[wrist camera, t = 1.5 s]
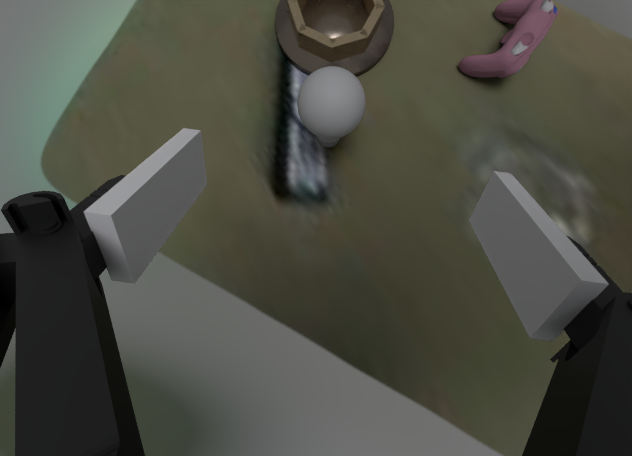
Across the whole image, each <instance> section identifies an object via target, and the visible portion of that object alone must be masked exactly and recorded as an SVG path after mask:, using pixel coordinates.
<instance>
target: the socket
mask: <svg viewBox="0 0 632 456" xmlns="http://www.w3.org/2000/svg"><path fill="white" fill-rule="evenodd" d="M275 24H276V32H277V37H278V42H279V45H280V47H281V49H282V51H283V53H284V55H285V56H286V57H287V59H288V60H289V61H290V62H291V63H292V64H293V65H294V66H295V67H296V68H298V69H299V70H300V71H302V72H304V73H305V74H307V75H310V74H311V73H313V72H314V71H316V70H318V69H320V68H324V67H328V66H336V67H341V68H344V69H346V70H348V71H350V72H351V73H352V74H354V75H355V76H356V77H357V76H359V75H361V74H363V73H365V72H367V71H368V70H370V69H371V68H373V67H374V66H375V65H376V64H377V63H378V62H379V61H380V60H381V58H382V57H383V56H384V54H385V52H386V51H387V48H388V46H389V44H390V40H391V37H392V34H393V28H394V15H393V10H392V7H391V4H390V1H389V0H280V2H279V5H278V7H277V12H276V20H275Z"/></svg>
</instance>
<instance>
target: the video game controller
mask: <svg viewBox="0 0 632 456" xmlns="http://www.w3.org/2000/svg"><path fill="white" fill-rule="evenodd" d="M494 14H495V17H496V18H497V19H498V20H499V21H502V22H504V23H508V24H516V25H515V27H514V28H513V29H512V30H510V31H509V32H508V33H507V34H505V36H504V37H503V38H502V40H501V43H502V44H503V46H502V48H501V49H499V50H497V51H496V52H495V53H493V54H486V55H473V56H468V57H465V58H463V59H462V60H461V61H460V63H459V69H460V70H461V71H462V72H463V73H465V74H467V75H470V76H473V77H481V78H487V77H499V78H504V77H507V76H510V75H512V74H514V73H517V72H518V71H519V70H520V69H521V68H522V66H524V65H525V64H526V62H527V61H528V60H529V58H530V54H531V53H532V51H533V50H534V49H535V48H536V47H537V46H538V45H539V43H540V42H541V41H542V39H543V38H544V37H545V35H546V34H547V32H548V31H549V29H550V27H551V25H552V23H553V21H554V20H555V19H556V17H557V15H558V10H557V8H556V7H555V6H554V4H553V2H552V1H550V0H508V1H505V2H502V3H501V4H499V5H498V6H497V7H496V9H495V11H494Z"/></svg>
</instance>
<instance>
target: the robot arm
mask: <svg viewBox="0 0 632 456" xmlns="http://www.w3.org/2000/svg"><path fill="white" fill-rule="evenodd" d="M206 185H207V181H206V172H205V163H204V155H203V146H202V137H201V131H200V130H193V129H186V128H183V129H182V130H181V131H180V132H178V133H177V134H176V135H175V136H174V137H172V138H171V139H170V140H169V141H168V142H166V143H165V144H164V145H163V146H162V147H160V148H159V149H158V150H157V151H156V152H154V153H153V154H152V155H151V156H150V157H148V158H147V159H146V160H145V161H144V162H142V163H141V164H140V165H139V166H138V167H136V168H135V169H134V170H133V171H132V172H130V173H129V174H128V175H127V176H124V175H120V176H118V177H116V178H113V179H111V180H109V181H107V182H106V183H104V184H103V185H102V186H100V187H99V188H98V190H95V191H94V192H93V193H92V194H90V197H89V196H88V197H86V198H85V199H84V200H83V201H81V202H80V203H79V204H78V205H76V206H75V207H74V208H73V209H72V210H70V211H69V209H68V206H67V204H66V202H65V200H64V198H63V196H62V195H61V194H59V193H56V192H51V191H39V192H31V193H28V194H24V195H20V196H18V197H16V198H13V199H11V200H10V201H8V202H7V203H6V204H4V205H3V207H2V209H1V211H2V213H3V215H4V216H5V218H6V219H7V221H8V223H9V224H10V226H11V228H12V229H13V231H14V233H5V234H0V367H1V365H2V362H3V359H4V357H5V354H6V351H7V349H8V346H9V343H10V340H11V338H12V335H13V333H14V330H15V328H16V395H15V396H16V403H15V404H16V406H15V408H16V409H15V411H16V414H15V416H16V417H15V425H16V426H15V428H16V429H15V456H145V454H144V450H143V446H142V442H141V438H140V434H139V430H138V426H137V422H136V418H135V414H134V410H133V406H132V402H131V398H130V394H129V390H128V386H127V382H126V378H125V374H124V370H123V366H122V362H121V358H120V354H119V350H118V346H117V342H116V338H115V334H114V331H113V327H112V322H111V318H110V314H109V310H108V307H107V302H106V298H105V294H104V291H103V287H102V283H101V281H100V278H99V275H100V274H101V273H102V272H103V271H104V270H105V269H106V268H107V270H108V273H109V275H110V277H111V280H114V281H121V282H127V283H135V282H136V281H137V280H138V278H139V277H140V276H141V274H142V273H143V271H144V270H145V269H146V267H147V266H148V265H149V263H150V262H151V260H152V259H153V258H154V256H155V255H156V254H157V252H158V251H159V250H160V248H161V247H162V246H163V244H164V243H165V241H166V240H167V239H168V237H169V236H170V235H171V233H172V232H173V230H174V229H175V228H176V226H177V225H178V224H179V222H180V221H181V220H182V218H183V217H184V215H185V214H186V213H187V211H188V210H189V209H190V207H191V206H192V205H193V203H194V202H195V200H196V199H197V198H198V196H199V195H200V194H201V192H202V191H203V189H204V188H205V187H206ZM469 222H470V224H471V226H472V228H473V230H474V232H475V234H476V236H477V238H478V240H479V241H480V243H481V245H482V247H483V249H484V251H485V253H486V255H487V257H488V259H489V261H490V263H491V265H492V266H493V268H494V270H495V272H496V274H497V276H498V278H499V280H500V282H501V284H502V286H503V288H504V290H505V291H506V293H507V295H508V297H509V299H510V301H511V303H512V305H513V307H514V309H515V311H516V313H517V315H518V316H519V318H520V320H521V322H522V324H523V326H524V328H525V330H526V332H527V334H528V336H529V338H533V339H540V340H548V341H554V340H555V338H556V337H557V336H558V335H559V334H560V333H561V332H562V331H563V330H565V332H566V333H567V335H568V336H569V338H570V341H569V342H568V343H567V344H566V345H565V346H564V347H563V348H562V349H561V350H560V351H559V352H557V353H556V354H555V355H554V356H553V357H552V358H551V359H550V360H551V361H553V362H555V361H556V360H557V359H559V360H558V363H557V365H556V368H555V371H554V373H553V376H552V378H551V381H550V384H549V386H548V389H547V392H546V394H545V397H544V399H543V402H542V405H541V407H540V410H539V413H538V415H537V418H536V420H535V423H534V426H533V428H532V431H531V434H530V436H529V439H528V441H527V444H526V447H525V449H524V452H523V455H522V456H632V294H631V293H626V292H625V293H623V292H622V290H621V289H620V288H619V287H618V286H617V285H616V284H615V283H614V282H613V281H612V279H611V278H610V277H609V276H608V275H607V274H606V273H605V272H604V271H603V270H602V268H601V267H600V266H597V263H596V262H595V261H594V260H593V259H592V257H589V256H590V255H589V254H588V253H587V252H586V251H585V250H584V249H583V248H582V246H581V245H579V244H578V243H577V242H575V241H574V240H572V239H571V238H570V237H568V236H567V235H565V234H564V233H563V232H562V231H561V229H560V228H559V227H558V226H557V225H556V224H555V223H554V221H553V220H552V219H551V218H550V217H549V216H548V215H547V214H546V212H545V211H544V210H543V209H542V208H541V207H540V206H539V205H538V203H537V202H536V201H535V200H534V199H533V198H532V197H531V196H530V194H529V193H528V192H527V191H526V190H525V189H524V188H523V186H522V185H521V184H520V183H519V182H518V181H517V180H516V179H515V177H514V176H513V175H512V174H511V173H505V172H498V171H493V173H492V175H491V177H490V179H489V181H488V183H487V185H486V187H485V189H484V191H483V193H482V195H481V197H480V199H479V201H478V203H477V205H476V207H475V209H474V211H473V213H472V215H471V217H470V219H469Z"/></svg>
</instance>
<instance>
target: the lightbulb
mask: <svg viewBox="0 0 632 456" xmlns="http://www.w3.org/2000/svg"><path fill="white" fill-rule="evenodd" d="M297 105H298V113H299V116H300V118H301V120H302V122H303V124H304V125H305V127H306V128H307V129H308V130H309V131H310V132H312V133H313V134H314V135H316V136H317V138H318V141H319V143H320V144H321V145H322V146H324V147H333V146H335V145H336V144H337V143H338V141H339V139H340V138H341V137H344V136H345V135H347V134H349V133H350V132H352V131H353V130H354V129H355V128H356V127H357V125H358V124H359V123H360V121H361V119H362V117H363V114H364V110H365V94H364V90H363V87H362V85H361V83H360V82H359V80H358V79H357V77H356V76H355V75H354V74H352V73H351V72H350V71H348V70H346V69H344V68H341V67H336V66H328V67H324V68H320V69H318V70H316V71H314V72H313V73H311V74H310V75H309V76H308V77H307V78H306V80H305V81H304V83H303V84H302V86H301V88H300V91H299V95H298V101H297Z"/></svg>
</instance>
